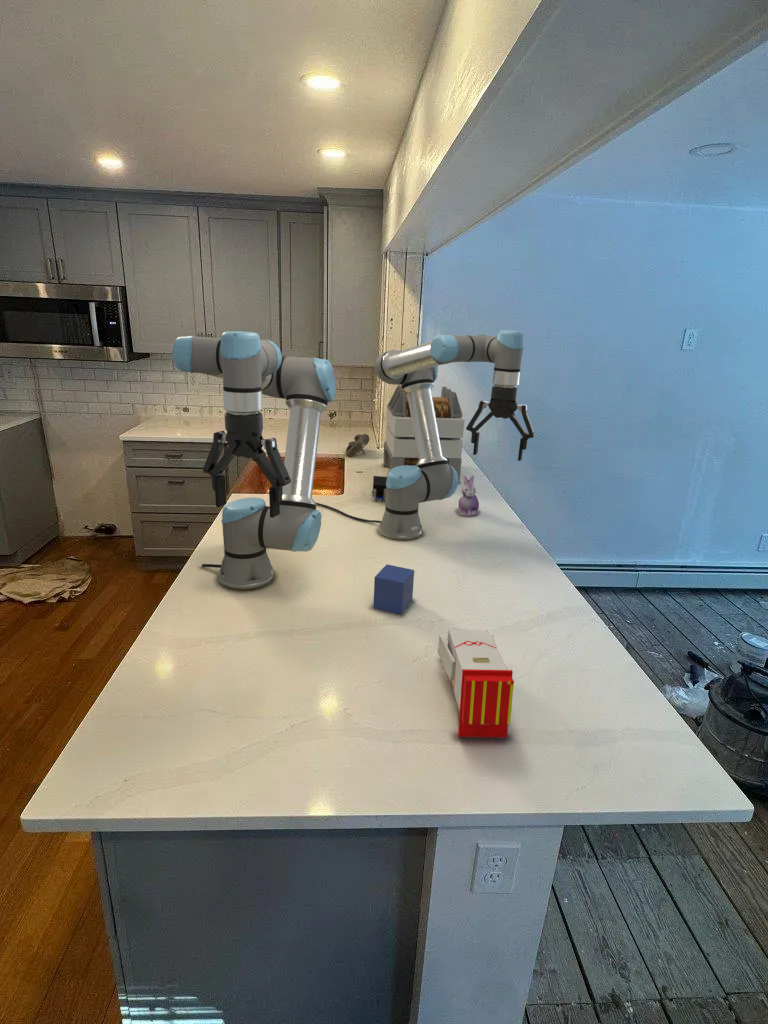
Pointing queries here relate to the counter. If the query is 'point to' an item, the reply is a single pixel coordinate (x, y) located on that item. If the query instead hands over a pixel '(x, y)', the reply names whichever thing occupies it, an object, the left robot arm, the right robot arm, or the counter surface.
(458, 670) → the toy
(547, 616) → the counter surface
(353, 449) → the fossil
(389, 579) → the block
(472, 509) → the figurine
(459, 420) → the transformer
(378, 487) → the figurine character
